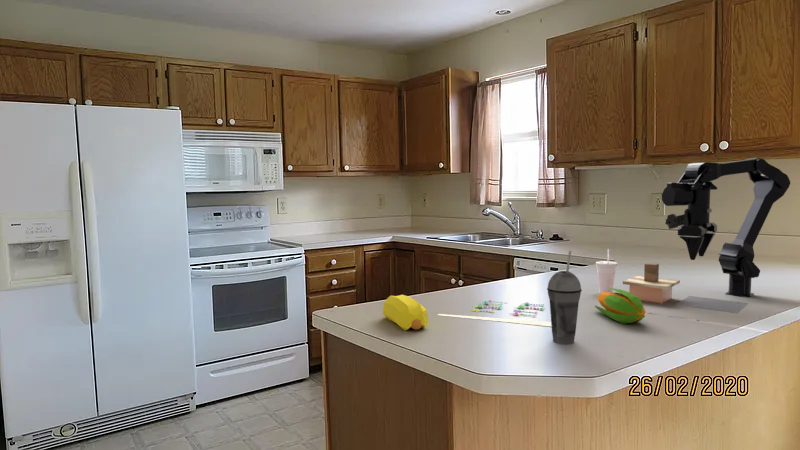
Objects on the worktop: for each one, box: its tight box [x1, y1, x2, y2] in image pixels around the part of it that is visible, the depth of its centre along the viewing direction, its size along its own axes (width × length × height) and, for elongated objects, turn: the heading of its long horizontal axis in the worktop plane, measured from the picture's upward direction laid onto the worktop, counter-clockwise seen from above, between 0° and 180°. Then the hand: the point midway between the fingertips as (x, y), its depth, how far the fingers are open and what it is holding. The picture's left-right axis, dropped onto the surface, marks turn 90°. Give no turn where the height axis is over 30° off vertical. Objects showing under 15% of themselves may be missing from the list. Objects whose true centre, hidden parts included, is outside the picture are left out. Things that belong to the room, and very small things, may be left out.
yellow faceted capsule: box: [382, 294, 429, 331], centre depth 135 cm, size 18×7×8 cm
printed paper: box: [437, 300, 552, 328], centre depth 150 cm, size 30×30×2 cm
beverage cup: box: [546, 250, 583, 345], centre depth 118 cm, size 7×7×20 cm
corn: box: [594, 287, 646, 325], centre depth 138 cm, size 7×8×20 cm
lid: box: [622, 262, 681, 289], centre depth 157 cm, size 12×12×6 cm
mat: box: [674, 295, 749, 314], centre depth 150 cm, size 15×15×1 cm
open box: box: [628, 285, 673, 305], centre depth 157 cm, size 9×9×5 cm
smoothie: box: [595, 248, 618, 294], centre depth 168 cm, size 6×6×14 cm
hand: (697, 258), depth 159 cm, fingers open, 9 cm apart
